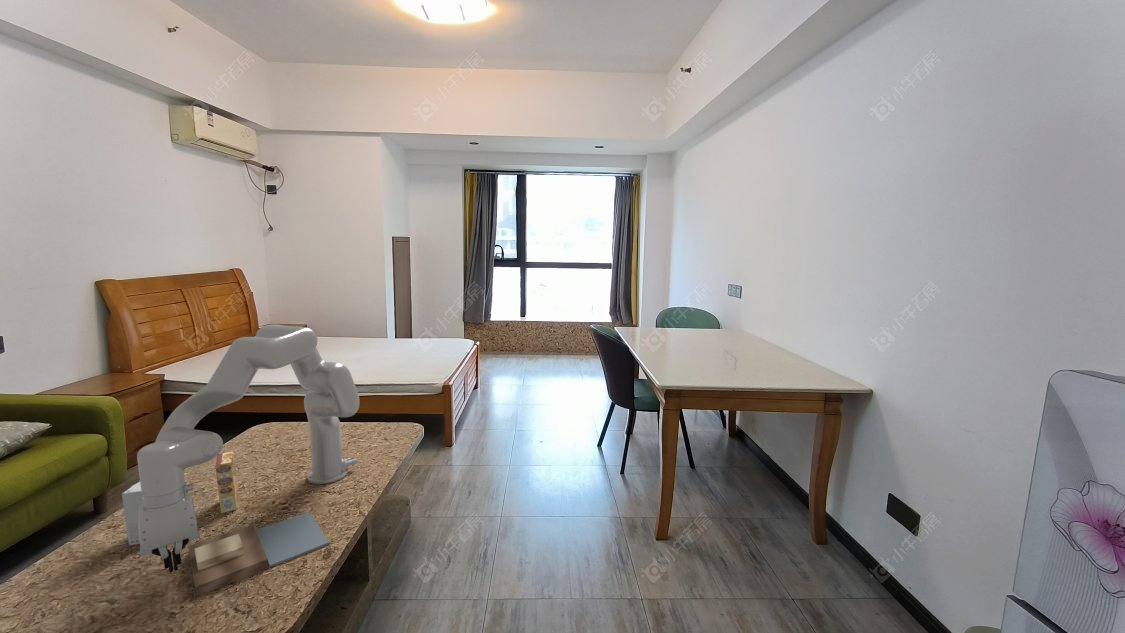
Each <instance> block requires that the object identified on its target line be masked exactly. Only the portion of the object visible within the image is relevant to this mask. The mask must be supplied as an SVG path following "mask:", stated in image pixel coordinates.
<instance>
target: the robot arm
mask: <svg viewBox="0 0 1125 633" xmlns="http://www.w3.org/2000/svg"><path fill="white" fill-rule="evenodd" d="M317 345H318V336H317V334H316V332H315V331H314V330H313V329H311V328H309V327H307V326H306V327H305V326H292V325H291V326H288V325H284V324H283V325H282V324H268V325H263V326H262V327H260V328H259V329H258V330H257V331H256V334H255V336H242V337H239V338H237V339H235V340H234V341H233V342H232V343H231V344H230V346H229V347H228V349H227V350H226V352H225V354H224V356H223V357H222V359H221V361H220V362H219V364H218V366H217V368H216V369H215V370H214V373H212V376H211V377H210V379H209V381H208V382H207V384H206V385H205V386H203V387H202V388H201V389H199V390H198V391H196V392H195V393H194V394H192V395H191V396H189V397H188V398H187V399H185V401H183V402H181V403H180V404H179V405H178V406H177V407H176V408H175V409H174V410H173V411H172V412H171V414H170V415H169V416H168V418H167V419H166V421H165V423H164V424H163V425H162V427H161V428H160V431H158V434H157V436H156V439H155V442H152V443H149V444H147V445H145V446H143V447H142V448H140V450H138V452H137V455H136V459H137V467H138V468H137V470H138V475H139V482H140V484H141V492H142V500H143V504H142V505H140V507H139V511H138V531H139V542H140V544H139V546H140V547H139V553H138V554H139V556H141V557H143V556H149V555H155V556H157V557H161V559H163V563H164V564H163V565H164V570H167V569H168V573H169V574H171V573H173V572H174V571H176V572H177V571H179V566H178V565H181V564H182V556H181V555H182V554H181V553H182V550H183V549H184V548H185V547H186V546H187V545H188V544H189V542H192V541H194V540H196V539H198V538H199V537H200V534H201V533H200V530H199V528H198V521H197V520H198V519H197V513H196V507H195V504H194V500H193V497H192V494H191V493H190V491H192V490H194V488H195V487H194V483H189V484H187V482H186V480H185V478H186V477H185V472H184V470H185V469H187V468H191V467H194V466H198V465H201V464H205V463H207V462H209V461H211V460H213V459H214V458H217V456H218V454H221V451H222V448H223V445H224V442H223V439H222V437H221V436H220V435H219V434H218V433H216V432H213V431H209V430H200V429H195V427H196V426H197V424H198V423H199V422H200V421H201V420H202V419H203V418H204V417H205V416H207V415H208V414H210V413H211V412H213V411H215V410H216V409H219V408H221V407H225V406H227V405H230V404H232V403H236V402H237V401H239V400H241V399H242V398H244V395H245V393H246V392H247V391H248V388H249V387H250V385H251V382H252V381H253V379H254V377H255V376H256V374H257V372H258V370H259V369H262V370H277V369H281V368H284V367H286V366H288V365H290V366H291V368H292V370H293V372H294V373H293V374H295V377H296V379H297V382H298V383H299V385H300V387H302V388H304V390H308V391H307V392H306V393H305V396H304V398H303V406H304V411H305V413H306V417H307V421H308V429H309V430H308V431H309V444H310V459H311V470H310V472H309V473H308V474H307V476H306V478H307V479H306V480H307V482H308V483H311V484H314V485H324V484H325V485H326V484H329V483H333V482H337V481H340V480H342V479H343V478H345V477H346V476H347V475H348V474H347V473H349V466H354V465H356V464H358V458H357V457H356V458H352V457H348V458H345V459H344V458H343V443H342V442H343V441H342V426H341V421H340V419H339V418H349V417H353V416H355V415H356V413H357V412H358V410H359V408H360V395H359V392H358V389H357V386H356V384H355V381H354V378H353V376H352V373H351V371H350V369H349V368H348V367H347V366H345V365H344V364H342V363H341V362H340V363H339V362H335V361H333V362H332V361H325V360H323V358H322V357H321V355H320V353H319V351H318V349H317ZM341 478H342V479H341ZM339 479H340V480H339ZM171 544H174V547H173V548H172V550H170V549H169V548H168V546H169V545H171Z"/></svg>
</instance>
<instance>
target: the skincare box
mask: <svg viewBox="0 0 1125 633" xmlns="http://www.w3.org/2000/svg"><path fill="white" fill-rule="evenodd" d="M121 496H122V503H123V504H122V505H123V511H124V513H123V514H124V518H125V525H126V533H127V541H128V546H134V545H140V542H139V531H138V511H139V507H140V505H142V504H143V500H142V492H141V484H140V481H138V482H137V483H135V484H133V485H131V486H130V487H129V488H128V489H127V490H125V491H124V492H122V493H121Z"/></svg>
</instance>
